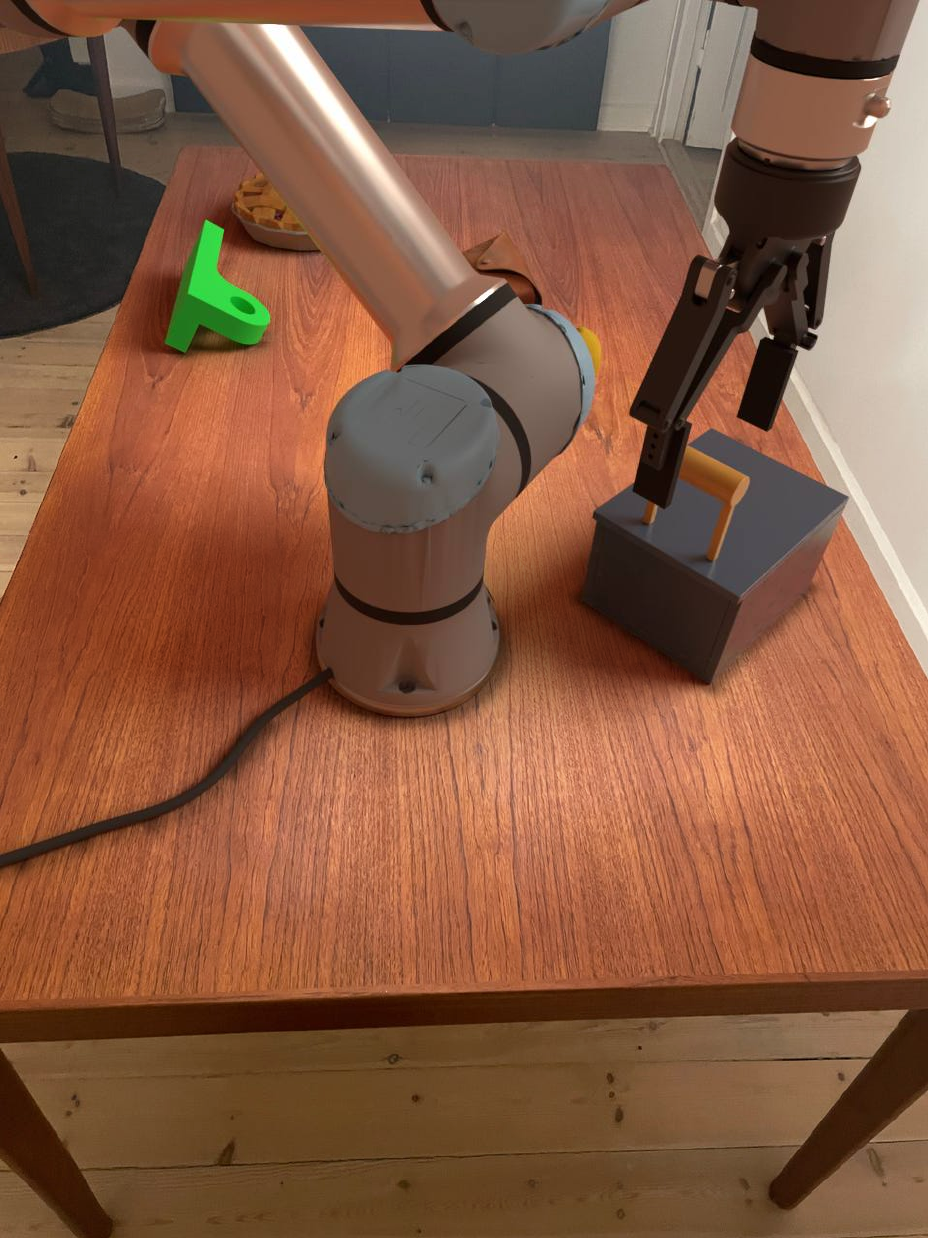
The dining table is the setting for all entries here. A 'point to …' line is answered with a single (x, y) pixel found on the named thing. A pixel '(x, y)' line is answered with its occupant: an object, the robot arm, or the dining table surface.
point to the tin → (692, 600)
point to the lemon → (592, 346)
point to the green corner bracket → (213, 299)
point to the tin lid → (726, 515)
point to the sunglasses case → (505, 266)
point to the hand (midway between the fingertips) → (705, 458)
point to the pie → (268, 216)
